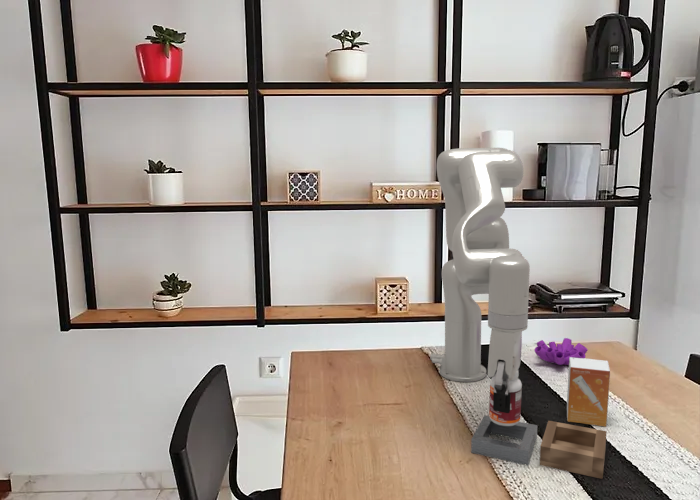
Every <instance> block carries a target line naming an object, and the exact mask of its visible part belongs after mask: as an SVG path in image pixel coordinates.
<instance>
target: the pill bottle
mask: <svg viewBox="0 0 700 500" xmlns="http://www.w3.org/2000/svg"><path fill="white" fill-rule="evenodd" d="M519 371H520V370H519V369H518V370H517V372H516V374H515V376H514V378H513V379H512V380H511V381H510V388H509V393H511V398H510V412H509V413H504V412H499V411H494V410H493V393H494V384H495V374H496V373H495V374H494V376H493V377H491V378H490V385H489V405H488V406H489V407H488V409H489V410H488V416H489V417H490V419H491V421H492V422H494V423H496V424H498V425H502V426H514V425H516V424H518V423H519V422H521V418H522V417H521V415H522V414H521V413H522V411H521V410H522V390H523V388H522V387H523V384H522V381H521V379H520V378H519V374H520V373H519ZM503 378H508V375H504V377H503ZM503 384H505V386H506V381H503Z"/></svg>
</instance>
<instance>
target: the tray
mask: <svg viewBox="0 0 700 500" xmlns="http://www.w3.org/2000/svg"><path fill="white" fill-rule="evenodd" d="M607 433H608V432H607V431H606V430H601V429H596V428H589V427H584V426H580V425H573V424H569V423H564V422H559V421H558V422H557V421H552V420H547V424H546V427H545V430H544V433H543V436H542V439H541V442H540V446H539V447H540V448H539V450H540V451H539V466H543V467H546V468H551V469H555V468H556V470H560V471H564V472H570V473H574V474H577V475H584V476H588V477H593V478H595V479H596V478H597V479H601V480H603V477H604V467H605V458H606V448H607V446H606V445H607V444H606V443H607Z"/></svg>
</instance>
